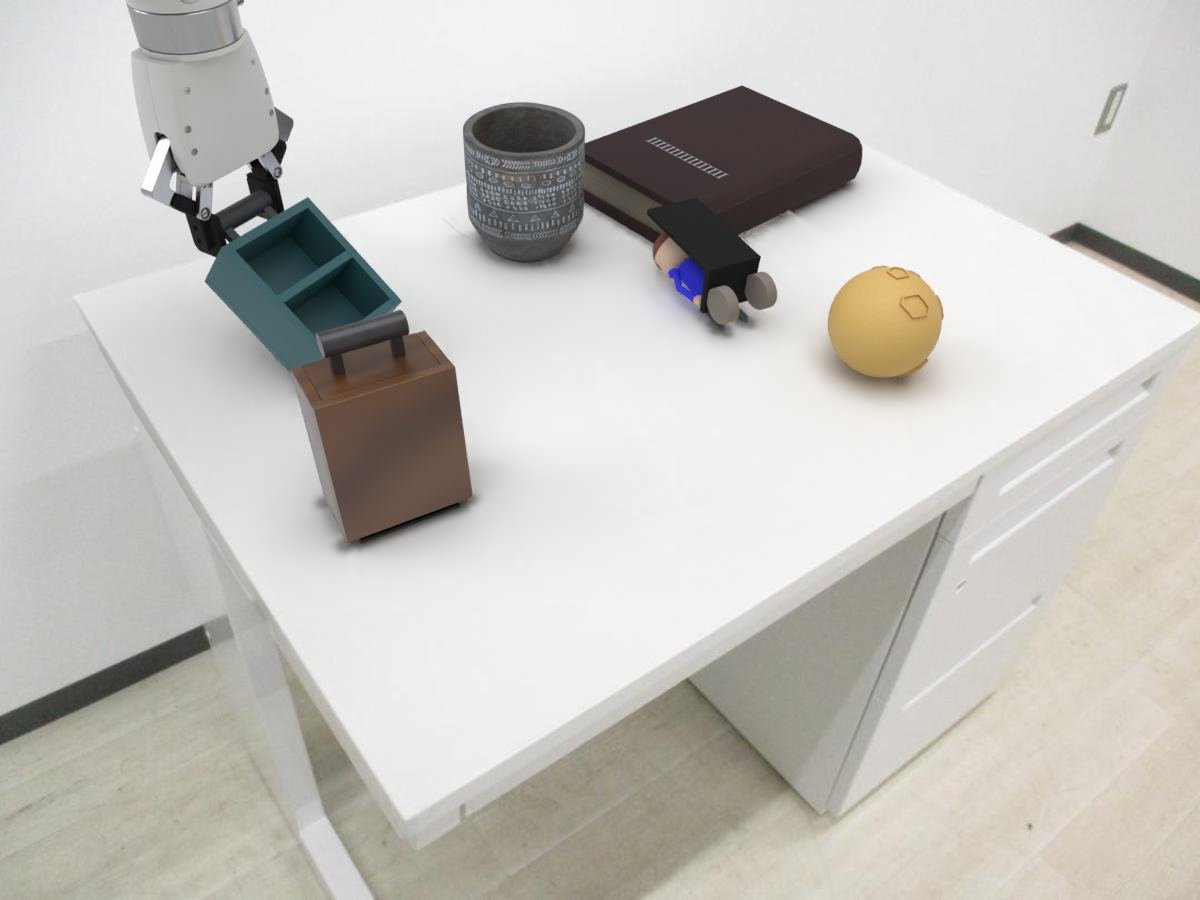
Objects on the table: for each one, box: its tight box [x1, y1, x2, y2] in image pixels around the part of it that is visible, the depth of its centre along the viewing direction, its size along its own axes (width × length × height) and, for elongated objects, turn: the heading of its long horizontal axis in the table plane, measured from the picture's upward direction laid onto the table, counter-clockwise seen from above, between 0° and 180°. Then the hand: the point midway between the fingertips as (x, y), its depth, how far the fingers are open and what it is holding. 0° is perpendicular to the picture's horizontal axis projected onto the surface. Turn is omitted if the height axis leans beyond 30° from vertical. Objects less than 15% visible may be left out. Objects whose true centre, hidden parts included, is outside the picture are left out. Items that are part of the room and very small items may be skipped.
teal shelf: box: [204, 189, 403, 375], centre depth 83 cm, size 15×10×6 cm
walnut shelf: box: [290, 309, 474, 543], centre depth 69 cm, size 15×10×6 cm
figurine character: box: [647, 198, 778, 331], centre depth 93 cm, size 7×8×15 cm
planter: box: [462, 101, 586, 263], centre depth 98 cm, size 12×12×13 cm
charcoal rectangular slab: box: [358, 502, 461, 544], centre depth 74 cm, size 6×8×1 cm
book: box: [584, 84, 863, 245], centre depth 110 cm, size 28×20×6 cm
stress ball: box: [827, 265, 945, 379], centre depth 85 cm, size 10×10×10 cm
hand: (242, 234), depth 83 cm, fingers closed on teal shelf, 6 cm apart
